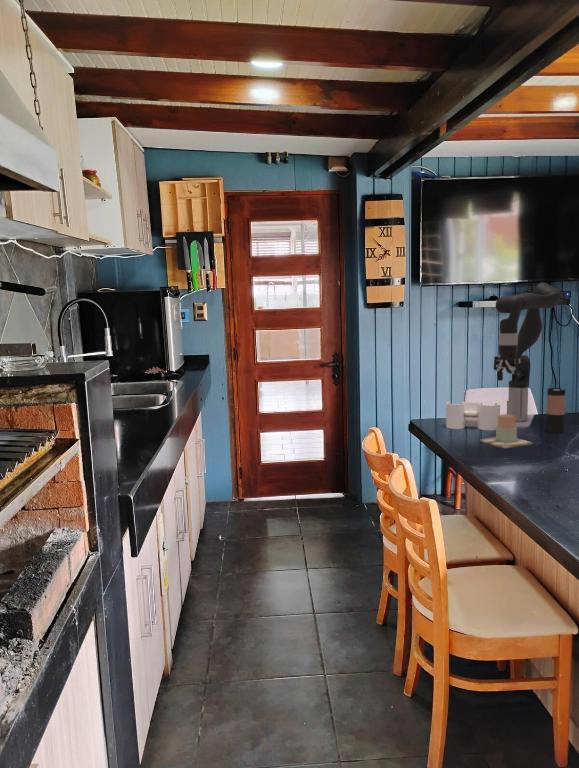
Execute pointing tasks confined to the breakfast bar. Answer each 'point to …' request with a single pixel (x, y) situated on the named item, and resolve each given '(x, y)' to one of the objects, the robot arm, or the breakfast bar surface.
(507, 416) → the terracotta block
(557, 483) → the breakfast bar surface
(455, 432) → the breakfast bar surface
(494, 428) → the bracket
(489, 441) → the board
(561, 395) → the travel mug
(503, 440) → the sage block
